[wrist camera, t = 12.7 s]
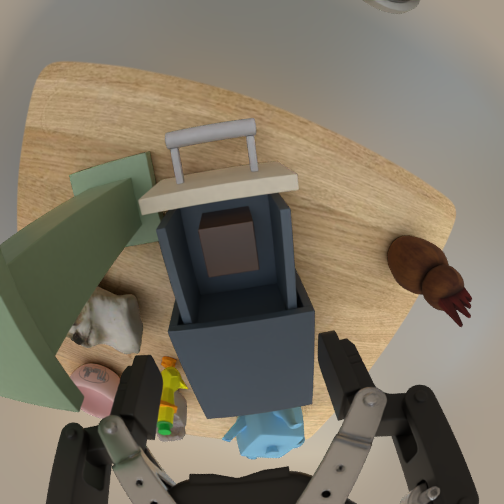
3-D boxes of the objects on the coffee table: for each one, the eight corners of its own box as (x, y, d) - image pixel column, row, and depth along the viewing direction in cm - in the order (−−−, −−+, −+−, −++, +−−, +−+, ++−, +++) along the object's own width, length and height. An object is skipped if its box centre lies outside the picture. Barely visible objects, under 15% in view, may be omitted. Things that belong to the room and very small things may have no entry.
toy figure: (144, 362, 37) (128, 430, 26) (146, 346, 35) (128, 417, 25) (188, 373, 38) (183, 442, 27) (192, 358, 37) (187, 430, 26)
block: (201, 213, 26) (197, 229, 22) (248, 205, 26) (253, 220, 22) (210, 255, 28) (208, 278, 24) (254, 248, 28) (259, 270, 24)
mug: (124, 361, 36) (115, 390, 31) (135, 398, 41) (129, 425, 35) (59, 348, 35) (45, 374, 30) (76, 386, 39) (67, 410, 34)
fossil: (157, 396, 40) (149, 446, 31) (150, 384, 39) (140, 435, 30) (190, 395, 41) (187, 447, 32) (184, 382, 39) (179, 436, 30)
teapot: (276, 431, 48) (283, 473, 39) (208, 423, 45) (208, 468, 36) (322, 379, 41) (339, 428, 32) (241, 366, 38) (246, 424, 29)
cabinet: (180, 276, 31) (167, 332, 23) (291, 259, 32) (314, 310, 23) (208, 363, 38) (206, 419, 29) (296, 350, 38) (312, 404, 29)
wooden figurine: (374, 268, 33) (439, 347, 20) (387, 226, 31) (468, 292, 17) (412, 271, 34) (478, 339, 21) (425, 232, 32) (503, 291, 18)
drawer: (153, 137, 24) (125, 141, 17) (272, 117, 24) (291, 113, 17) (189, 296, 31) (182, 343, 24) (289, 281, 32) (305, 325, 25)
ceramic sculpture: (133, 391, 27) (28, 346, 25) (150, 344, 35) (57, 309, 33) (138, 325, 23) (14, 275, 21) (160, 279, 31) (55, 243, 29)
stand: (75, 172, 25) (-88, 266, 5) (149, 151, 25) (-19, 230, 5) (96, 247, 29) (-11, 397, 9) (168, 234, 29) (93, 420, 9)
